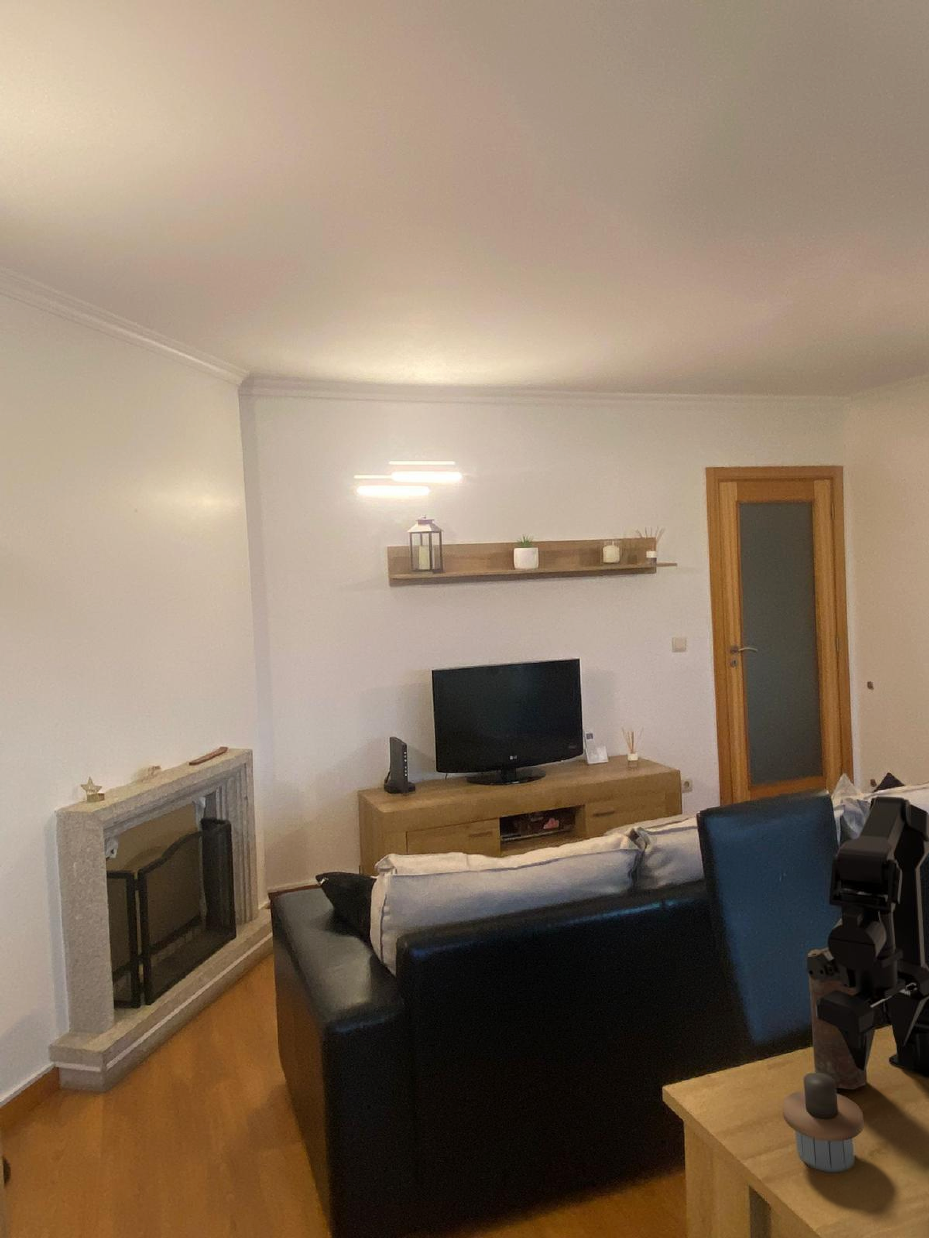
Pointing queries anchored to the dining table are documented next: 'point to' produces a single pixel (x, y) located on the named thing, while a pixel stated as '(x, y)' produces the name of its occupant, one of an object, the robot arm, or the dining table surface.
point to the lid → (822, 1110)
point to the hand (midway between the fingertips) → (881, 1056)
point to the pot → (826, 1153)
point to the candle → (832, 1040)
